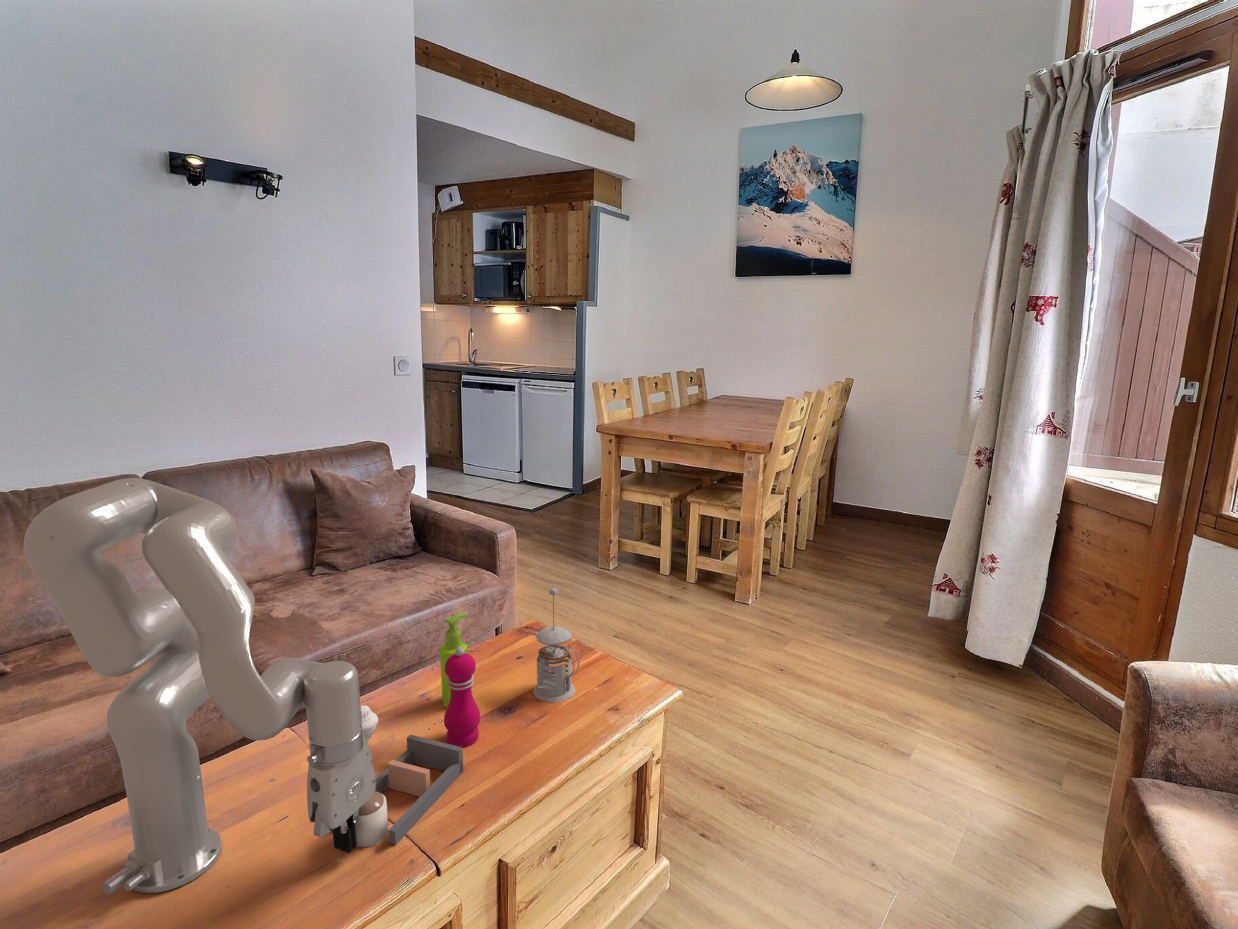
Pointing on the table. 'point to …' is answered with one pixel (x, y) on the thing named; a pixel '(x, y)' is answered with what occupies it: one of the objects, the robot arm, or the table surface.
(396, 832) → the frame
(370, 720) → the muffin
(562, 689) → the french press
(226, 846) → the table surface
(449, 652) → the soap dispenser
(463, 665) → the pepper mill
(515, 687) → the table surface
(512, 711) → the table surface
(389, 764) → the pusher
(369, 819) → the jar
